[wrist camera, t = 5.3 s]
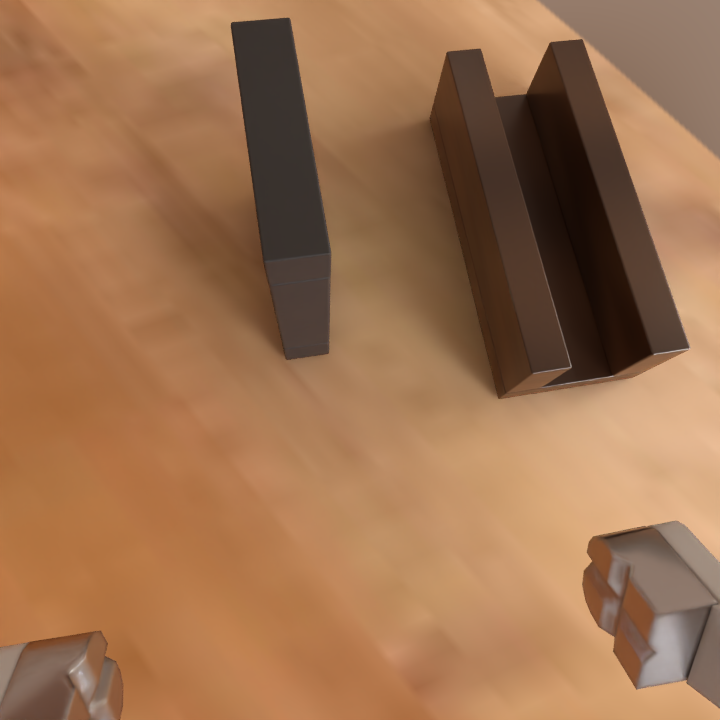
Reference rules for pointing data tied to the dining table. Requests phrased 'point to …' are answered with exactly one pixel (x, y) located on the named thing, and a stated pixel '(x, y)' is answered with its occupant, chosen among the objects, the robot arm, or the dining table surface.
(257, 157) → the frame
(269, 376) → the dining table surface
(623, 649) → the robot arm
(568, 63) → the holder
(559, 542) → the dining table surface
